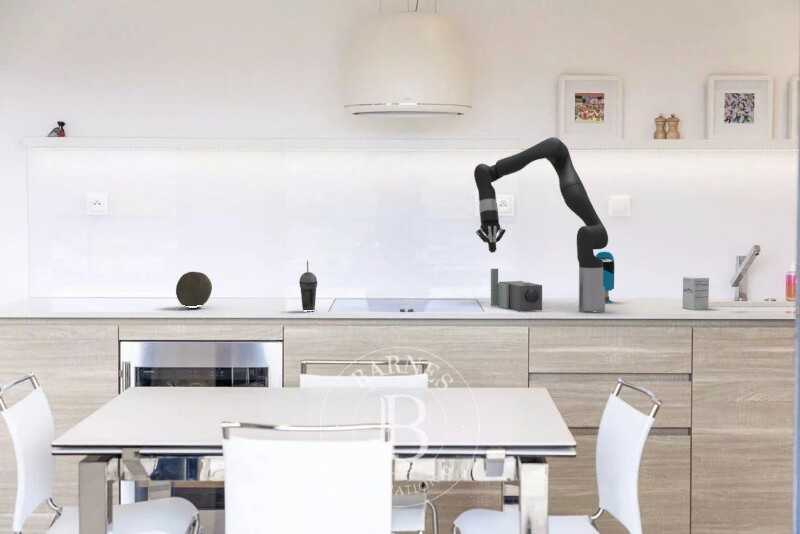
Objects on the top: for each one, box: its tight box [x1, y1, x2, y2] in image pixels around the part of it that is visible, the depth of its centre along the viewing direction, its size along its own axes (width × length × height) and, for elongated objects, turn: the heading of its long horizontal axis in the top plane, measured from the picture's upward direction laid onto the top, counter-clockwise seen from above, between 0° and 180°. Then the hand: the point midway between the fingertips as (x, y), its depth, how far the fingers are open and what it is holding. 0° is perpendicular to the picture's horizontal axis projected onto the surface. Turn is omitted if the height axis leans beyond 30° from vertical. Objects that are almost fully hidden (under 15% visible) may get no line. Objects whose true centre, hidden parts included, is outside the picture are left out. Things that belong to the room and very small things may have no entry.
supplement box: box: [682, 275, 710, 311], centre depth 407 cm, size 7×7×13 cm
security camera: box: [595, 251, 615, 304], centre depth 431 cm, size 8×21×10 cm
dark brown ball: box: [175, 271, 213, 307], centre depth 418 cm, size 14×14×15 cm
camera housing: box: [498, 280, 543, 312], centre depth 411 cm, size 22×10×11 cm, turn 18°
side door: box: [490, 268, 509, 309], centre depth 414 cm, size 10×3×15 cm, turn 18°
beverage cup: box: [298, 260, 318, 311], centre depth 405 cm, size 7×7×20 cm
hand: (492, 252), depth 425 cm, fingers closed
